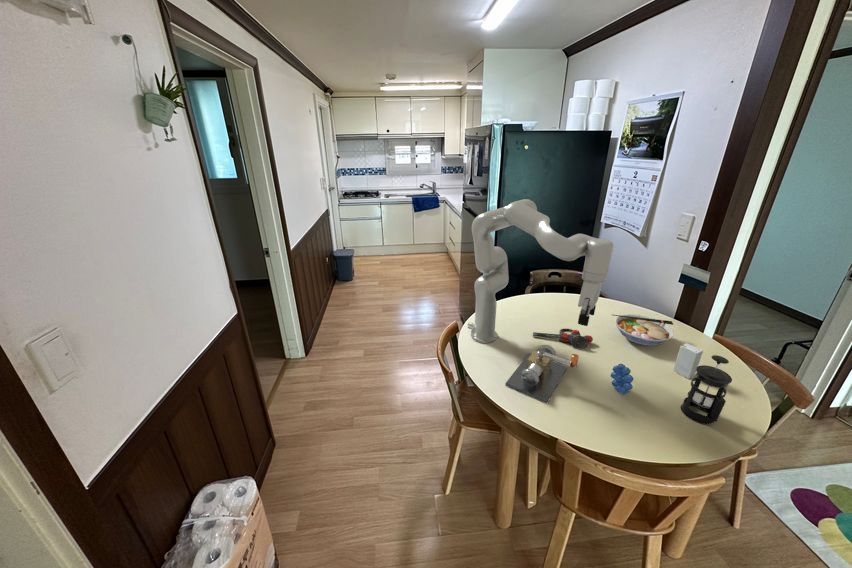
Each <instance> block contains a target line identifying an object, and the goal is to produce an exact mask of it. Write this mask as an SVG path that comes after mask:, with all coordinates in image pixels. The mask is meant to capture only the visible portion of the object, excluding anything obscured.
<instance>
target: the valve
mask: <svg viewBox="0 0 852 568" xmlns="http://www.w3.org/2000/svg"><path fill="white" fill-rule="evenodd" d="M563 331H564V332H563ZM565 331H568V332H570V334H569V333H567V332H565ZM532 337H536V338H537V337H538V338H548V339H549V338H550V339H558V341H560V342H563V343H567V342H569V343H570V344H571V346H572V348H574V349H583V348H585V347H586V345H587V344H591V343H592V342H593V340H594V339H593V338H594V337H593V336H592V335H588V334H587V335H581V333H580V331H579V330H578V329H571V328H561V329H560V330H559V334H558V333H557V334H556V333H549V332H548V333H546V332H536V331H534V332H532Z"/></svg>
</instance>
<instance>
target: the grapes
mask: <svg viewBox="0 0 852 568" xmlns="http://www.w3.org/2000/svg"><path fill="white" fill-rule="evenodd" d="M631 372H632V370H631V369H630V368H629V367H627V366H626V365H625V364H623V363H618V364H617V365H614V366H613V367H612V372H611V373H610V377H611V378H612V379H613V380H612V381H611V383H610V384H611V385H612V386H613V387H614V390H615V392H616V393H619V394H622V395H628V394H629V392H630V391H631V390H632V389H634V386H633V384H632V383H633V381H634V377H633V375H631Z"/></svg>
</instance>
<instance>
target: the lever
mask: <svg viewBox="0 0 852 568" xmlns="http://www.w3.org/2000/svg"><path fill="white" fill-rule="evenodd" d="M536 352H537V354H536V355H537V357H540V358H543V357H546V358H548V359H551V361H554V362H556V363H559V364H562V365H565V366H567V367H570V368H573V369H576V368H577V366H578V362H579V361H578V360H579V357H580V356H579V354H577V353H572V354H571V356H570V360H568V359H566V358H562V357H560V356H557V355H556V356H555V355H552V354H549V353H546V352H544V351H543V350H539V349H538V350H536Z"/></svg>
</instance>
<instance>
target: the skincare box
mask: <svg viewBox="0 0 852 568" xmlns="http://www.w3.org/2000/svg"><path fill="white" fill-rule="evenodd" d="M703 353H704V350H702V349H700V348H698V347H695V346H694V345H692V344H689V343H684V344H681V345H680V347H679V350H678V354H677V355H676V356H677V357H676V359H675V364H674V366H673V369H672V371H673V372H675V373H677V374H679V375H681V376H682V377H684V378H686V379H688V380H690V379H693V378H695V376H696V373H697V371H696V368H697V367H698V366H700V365H699V364H700V361H701V358H702V355H703Z"/></svg>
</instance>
